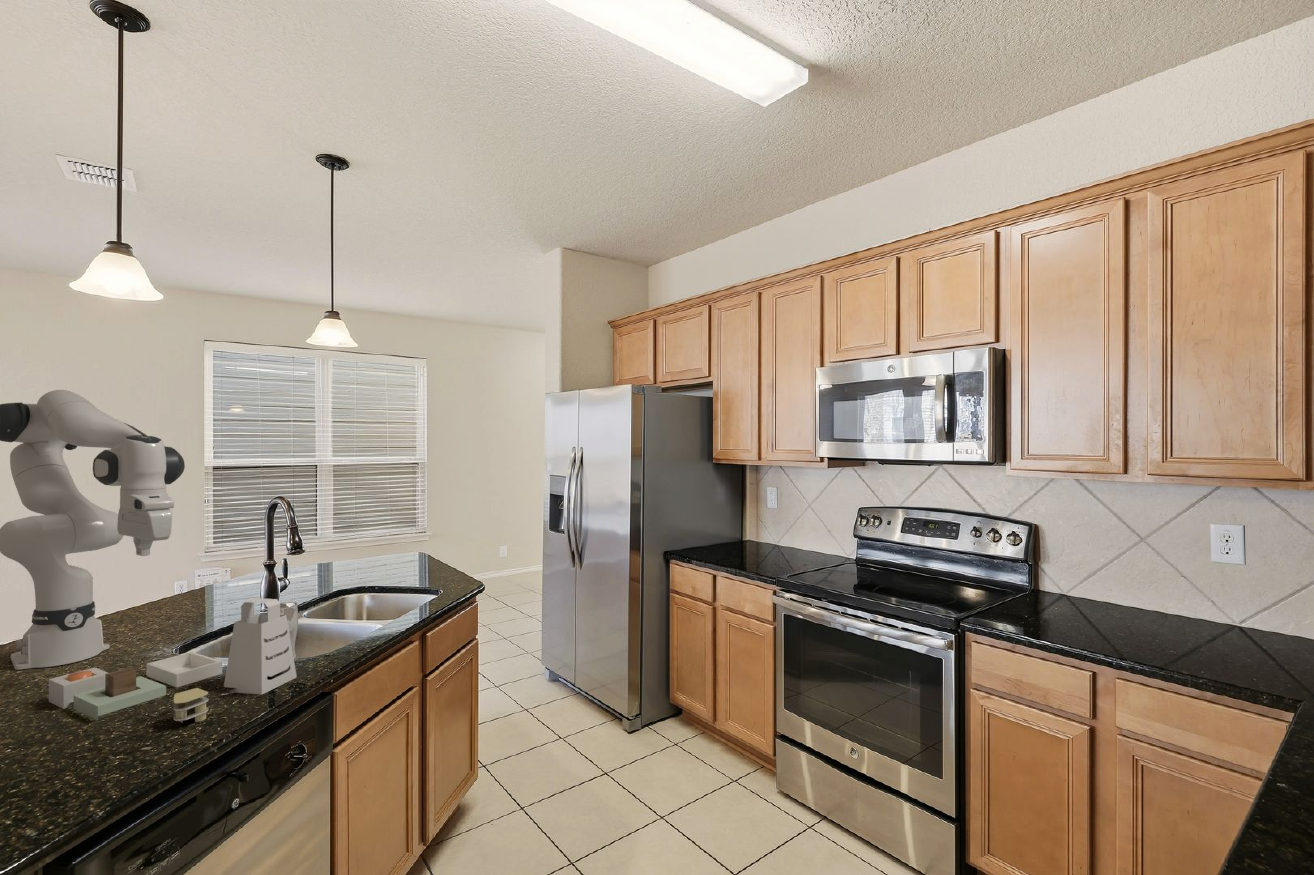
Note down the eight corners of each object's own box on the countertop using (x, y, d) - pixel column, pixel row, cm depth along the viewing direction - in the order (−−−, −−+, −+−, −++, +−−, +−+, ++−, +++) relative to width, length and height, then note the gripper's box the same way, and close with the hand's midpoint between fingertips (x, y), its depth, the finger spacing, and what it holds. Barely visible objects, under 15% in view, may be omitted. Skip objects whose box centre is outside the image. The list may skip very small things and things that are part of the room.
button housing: (48, 701, 136) (48, 679, 136) (94, 688, 143) (94, 667, 143) (63, 708, 132) (63, 685, 132) (110, 695, 139) (110, 673, 139)
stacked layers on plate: (155, 723, 126) (155, 696, 126) (206, 707, 133) (206, 682, 133) (170, 737, 120) (170, 709, 120) (223, 720, 127) (223, 694, 127)
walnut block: (105, 701, 134) (105, 673, 134) (127, 694, 138) (127, 667, 138) (113, 704, 132) (113, 677, 132) (136, 697, 136) (136, 670, 136)
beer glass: (304, 659, 162) (304, 602, 162) (280, 668, 156) (280, 609, 156) (285, 656, 165) (285, 600, 165) (260, 665, 158) (260, 607, 158)
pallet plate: (73, 709, 132) (73, 695, 132) (140, 689, 143) (140, 676, 143) (97, 720, 127) (97, 706, 127) (166, 699, 137) (166, 685, 137)
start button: (64, 688, 137) (64, 675, 137) (87, 682, 141) (87, 669, 141) (71, 692, 135) (71, 678, 135) (95, 685, 139) (95, 672, 139)
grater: (260, 674, 152) (260, 594, 152) (296, 677, 150) (296, 596, 150) (222, 691, 141) (222, 605, 142) (261, 694, 140) (261, 607, 140)
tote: (146, 680, 148) (146, 663, 148) (191, 667, 157) (191, 651, 157) (176, 691, 141) (176, 674, 141) (222, 677, 150) (222, 661, 150)
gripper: (109, 498, 154) (108, 553, 154) (146, 503, 144) (146, 562, 144) (139, 496, 160) (139, 549, 160) (177, 501, 150) (177, 557, 150)
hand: (143, 555), depth 152 cm, fingers closed
